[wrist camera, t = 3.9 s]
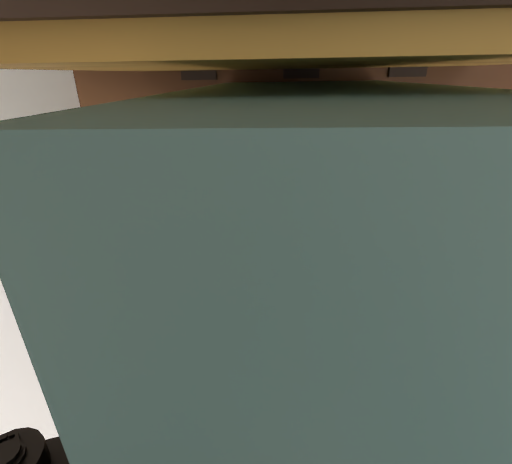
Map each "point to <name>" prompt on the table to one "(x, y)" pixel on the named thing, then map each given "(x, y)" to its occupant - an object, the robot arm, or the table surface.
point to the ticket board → (256, 42)
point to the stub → (268, 273)
